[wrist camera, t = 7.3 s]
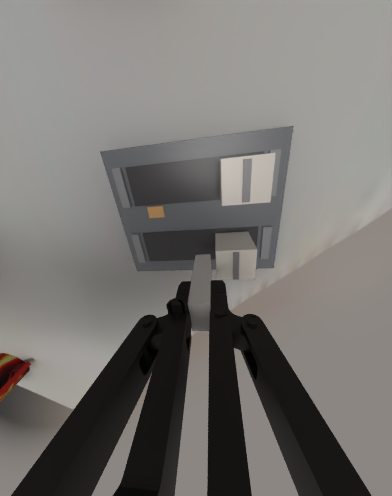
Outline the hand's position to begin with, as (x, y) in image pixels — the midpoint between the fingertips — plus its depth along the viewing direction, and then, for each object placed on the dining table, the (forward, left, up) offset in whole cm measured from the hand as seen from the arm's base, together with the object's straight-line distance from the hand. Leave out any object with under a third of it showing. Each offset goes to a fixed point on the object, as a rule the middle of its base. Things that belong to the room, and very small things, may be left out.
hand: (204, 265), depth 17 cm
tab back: (+3, 0, -5) cm, 6 cm away
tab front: (+4, +8, -5) cm, 10 cm away
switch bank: (-1, +4, -7) cm, 8 cm away
